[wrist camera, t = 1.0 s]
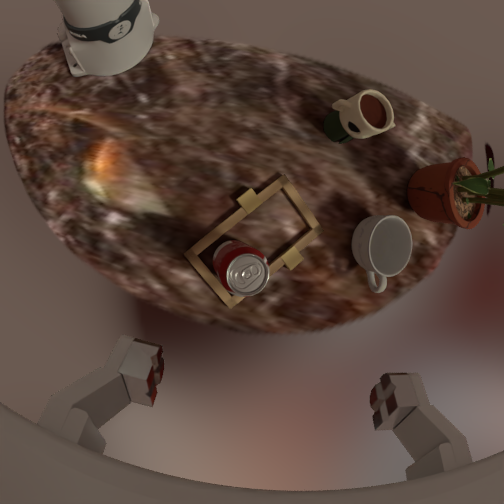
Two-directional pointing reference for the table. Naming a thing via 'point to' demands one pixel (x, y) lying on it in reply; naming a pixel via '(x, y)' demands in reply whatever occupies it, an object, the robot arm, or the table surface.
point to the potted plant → (453, 192)
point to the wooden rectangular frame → (247, 204)
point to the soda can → (241, 268)
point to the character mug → (359, 117)
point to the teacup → (382, 247)
